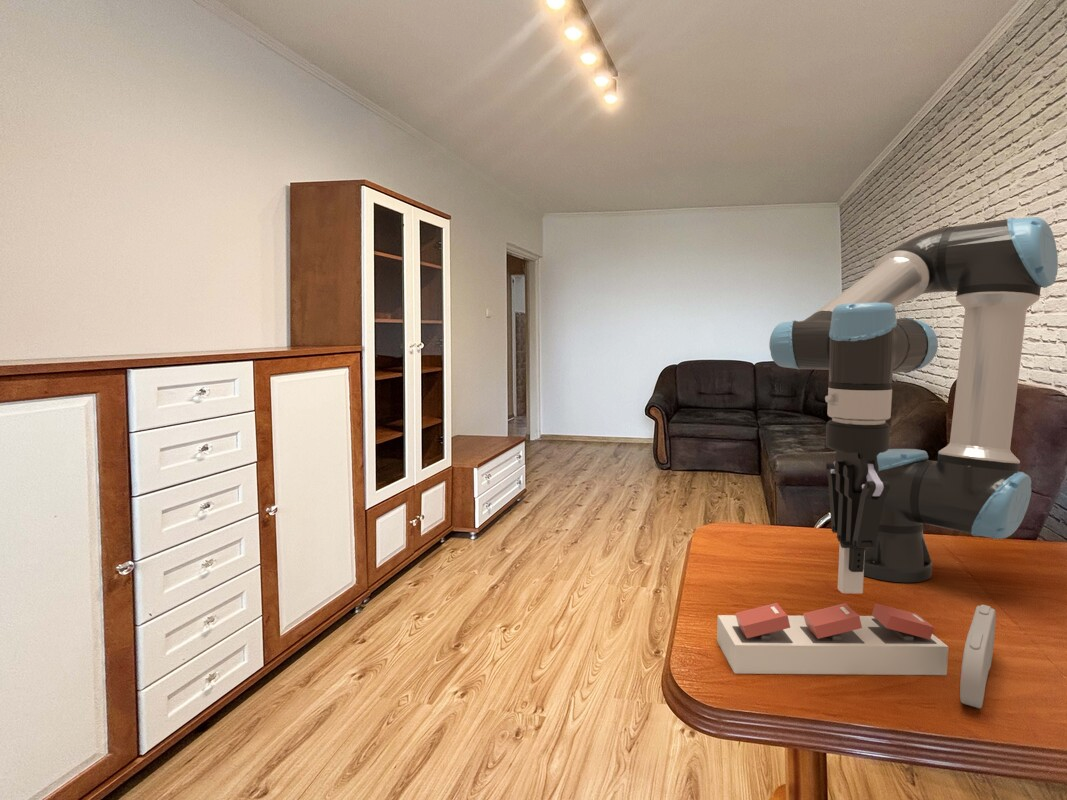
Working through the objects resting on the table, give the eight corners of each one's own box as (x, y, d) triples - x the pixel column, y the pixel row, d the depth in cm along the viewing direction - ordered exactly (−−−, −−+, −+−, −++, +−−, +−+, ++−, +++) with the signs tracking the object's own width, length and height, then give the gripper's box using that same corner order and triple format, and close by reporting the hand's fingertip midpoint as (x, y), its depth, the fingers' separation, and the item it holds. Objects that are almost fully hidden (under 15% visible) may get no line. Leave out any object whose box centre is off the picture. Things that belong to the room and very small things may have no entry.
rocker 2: (848, 614, 88) (845, 602, 88) (862, 628, 84) (859, 614, 84) (806, 625, 88) (802, 612, 88) (817, 638, 84) (814, 625, 84)
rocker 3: (912, 625, 88) (917, 613, 88) (929, 639, 84) (934, 626, 84) (871, 614, 88) (875, 602, 88) (886, 628, 84) (891, 615, 84)
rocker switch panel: (908, 642, 92) (910, 611, 92) (946, 675, 83) (948, 641, 83) (716, 640, 93) (717, 610, 93) (734, 673, 84) (735, 640, 84)
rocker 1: (779, 614, 88) (776, 601, 88) (790, 627, 84) (787, 614, 84) (738, 624, 89) (734, 612, 88) (746, 638, 85) (743, 625, 84)
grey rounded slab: (973, 650, 90) (977, 594, 89) (993, 655, 88) (997, 599, 88) (955, 713, 75) (960, 647, 74) (979, 721, 74) (983, 654, 73)
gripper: (809, 414, 90) (803, 573, 92) (852, 427, 77) (844, 611, 79) (862, 413, 89) (854, 573, 92) (914, 427, 77) (904, 612, 79)
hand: (850, 590), depth 86 cm, fingers closed
